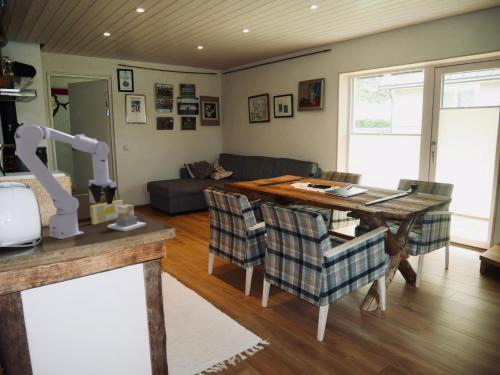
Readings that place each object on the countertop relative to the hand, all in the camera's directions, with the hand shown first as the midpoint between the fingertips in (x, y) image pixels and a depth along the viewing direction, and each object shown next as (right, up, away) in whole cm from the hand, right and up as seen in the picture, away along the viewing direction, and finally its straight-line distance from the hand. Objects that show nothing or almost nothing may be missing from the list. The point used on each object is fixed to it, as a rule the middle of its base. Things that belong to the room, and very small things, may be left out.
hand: (103, 203), depth 148 cm
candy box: (-3, -9, +14) cm, 17 cm away
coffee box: (-9, -8, +20) cm, 23 cm away
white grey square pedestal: (+9, -10, +3) cm, 14 cm away
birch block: (+9, -6, +2) cm, 11 cm away
